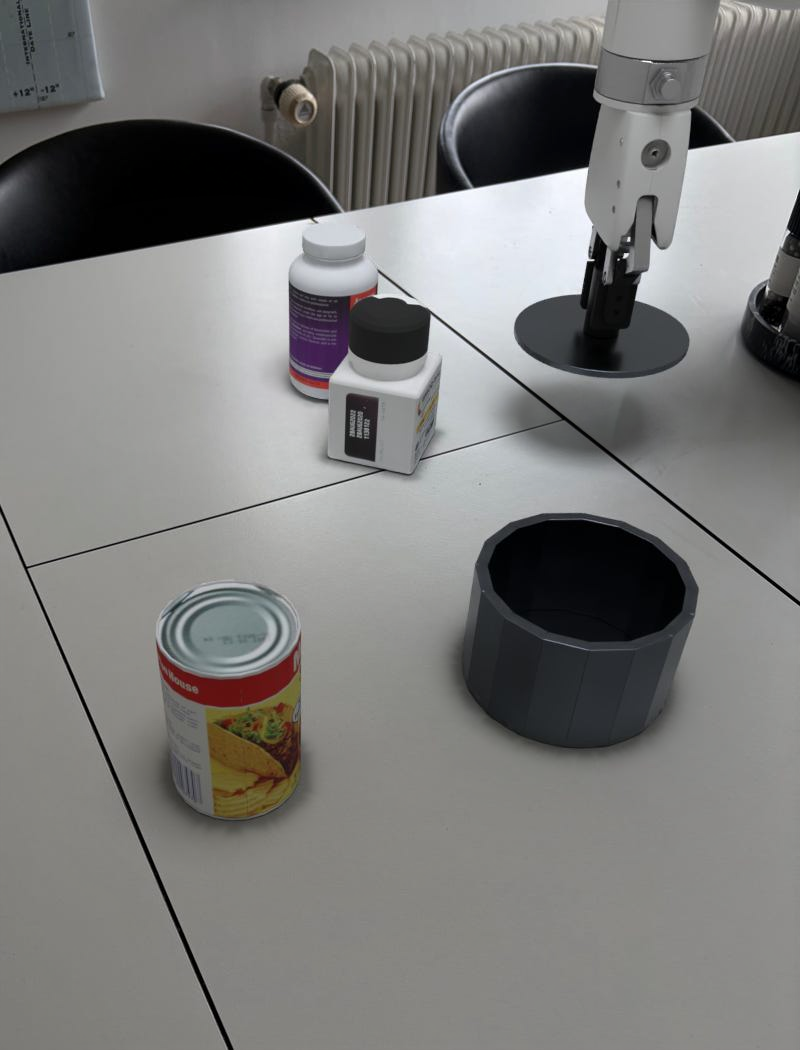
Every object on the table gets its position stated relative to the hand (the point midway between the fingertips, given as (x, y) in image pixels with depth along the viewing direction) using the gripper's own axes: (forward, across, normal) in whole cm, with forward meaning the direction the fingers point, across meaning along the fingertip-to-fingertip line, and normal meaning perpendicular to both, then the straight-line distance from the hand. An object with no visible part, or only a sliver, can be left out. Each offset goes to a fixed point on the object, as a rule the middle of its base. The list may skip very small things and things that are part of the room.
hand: (603, 315), depth 87 cm
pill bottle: (+10, +8, +23) cm, 26 cm away
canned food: (+11, -40, +31) cm, 51 cm away
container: (+11, -3, +19) cm, 22 cm away
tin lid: (+2, 0, 0) cm, 2 cm away
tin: (+11, -32, +9) cm, 35 cm away
